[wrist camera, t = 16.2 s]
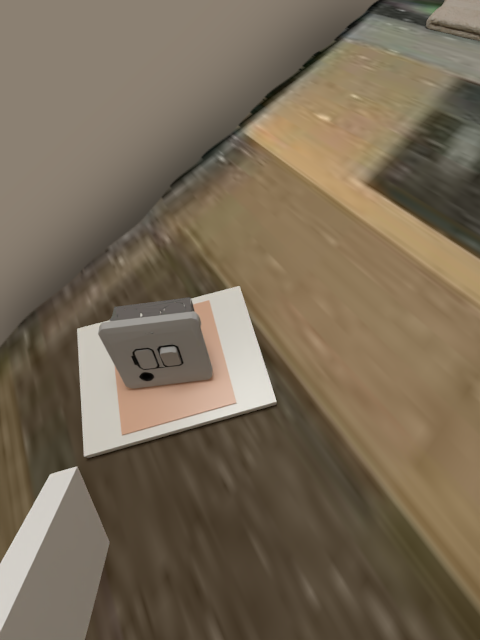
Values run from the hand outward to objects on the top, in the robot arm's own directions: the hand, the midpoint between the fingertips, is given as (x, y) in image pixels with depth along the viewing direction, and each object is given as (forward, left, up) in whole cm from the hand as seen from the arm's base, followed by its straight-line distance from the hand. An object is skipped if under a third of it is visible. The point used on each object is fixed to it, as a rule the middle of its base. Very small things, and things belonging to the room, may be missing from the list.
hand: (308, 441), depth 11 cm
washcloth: (-61, -68, -28) cm, 96 cm away
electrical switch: (+8, -17, -27) cm, 32 cm away
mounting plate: (+8, -17, -28) cm, 33 cm away
